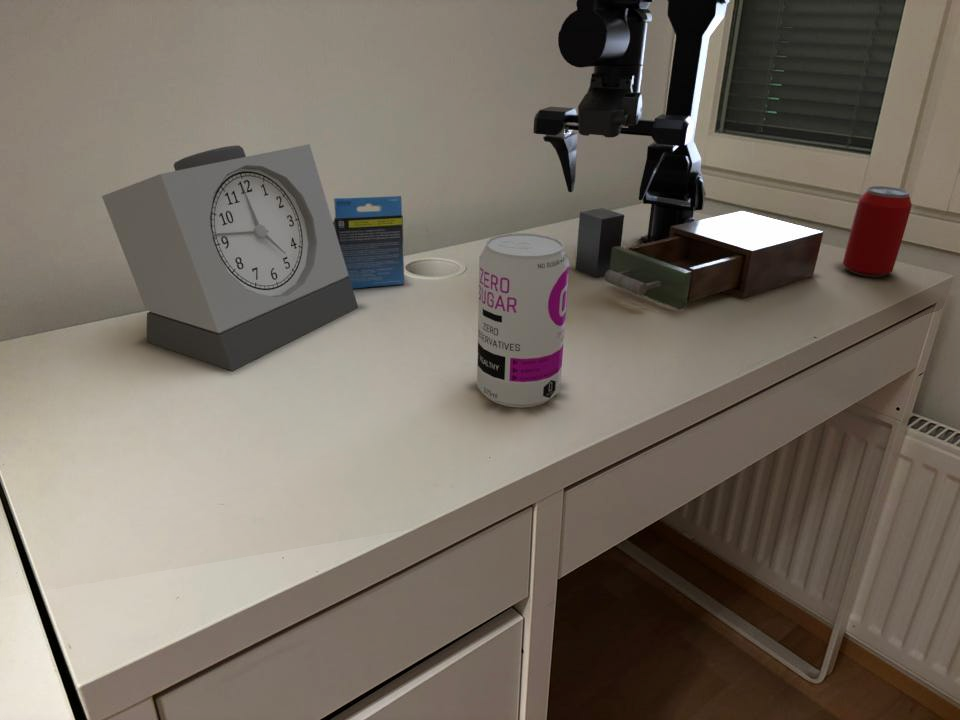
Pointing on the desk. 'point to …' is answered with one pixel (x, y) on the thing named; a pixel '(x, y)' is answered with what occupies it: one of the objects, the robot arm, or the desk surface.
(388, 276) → the label tape box
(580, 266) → the steel block
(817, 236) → the cabinet
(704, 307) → the desk surface
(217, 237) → the alarm clock
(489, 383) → the supplement can
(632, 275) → the rack drawer
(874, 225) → the beverage can
